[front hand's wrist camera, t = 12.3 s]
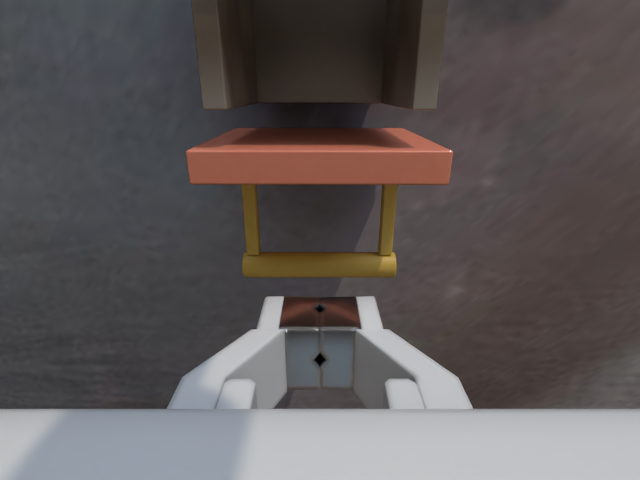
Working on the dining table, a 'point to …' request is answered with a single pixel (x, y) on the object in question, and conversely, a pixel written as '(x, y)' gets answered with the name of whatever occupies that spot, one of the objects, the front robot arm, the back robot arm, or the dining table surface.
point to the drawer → (319, 87)
